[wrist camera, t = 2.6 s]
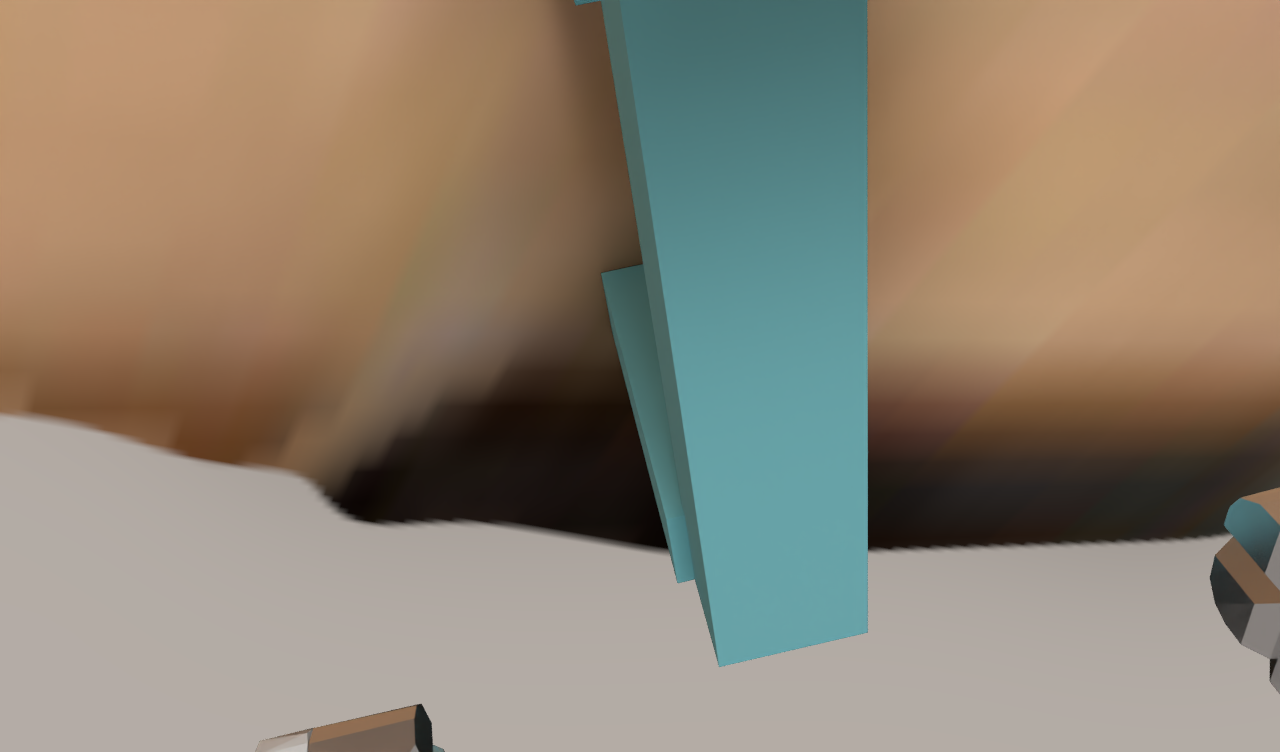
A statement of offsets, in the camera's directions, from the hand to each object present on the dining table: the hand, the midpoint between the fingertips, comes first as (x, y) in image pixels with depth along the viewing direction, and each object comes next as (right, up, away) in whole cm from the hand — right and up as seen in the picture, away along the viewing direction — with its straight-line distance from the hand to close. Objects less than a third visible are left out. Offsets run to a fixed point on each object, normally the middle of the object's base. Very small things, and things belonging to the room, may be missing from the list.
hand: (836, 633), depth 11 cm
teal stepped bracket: (-2, +8, +10) cm, 13 cm away
